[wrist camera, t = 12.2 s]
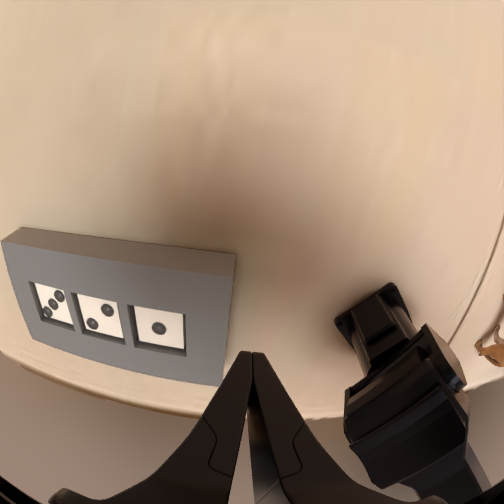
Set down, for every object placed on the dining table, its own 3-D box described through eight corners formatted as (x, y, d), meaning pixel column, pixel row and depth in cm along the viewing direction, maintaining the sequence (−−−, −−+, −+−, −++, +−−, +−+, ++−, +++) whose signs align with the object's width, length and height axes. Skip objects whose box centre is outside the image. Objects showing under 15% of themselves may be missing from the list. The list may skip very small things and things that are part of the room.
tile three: (74, 279, 21) (63, 290, 19) (82, 313, 23) (73, 326, 21) (44, 272, 21) (33, 282, 19) (53, 305, 22) (44, 316, 21)
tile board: (236, 254, 21) (233, 277, 18) (224, 361, 26) (221, 387, 23) (21, 227, 20) (0, 240, 17) (46, 321, 25) (32, 338, 22)
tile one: (187, 299, 22) (182, 314, 20) (187, 334, 23) (183, 350, 21) (141, 291, 21) (132, 305, 20) (145, 327, 23) (138, 342, 21)
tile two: (124, 289, 21) (115, 303, 19) (130, 325, 23) (122, 339, 21) (86, 282, 21) (75, 294, 19) (94, 317, 23) (85, 330, 21)
